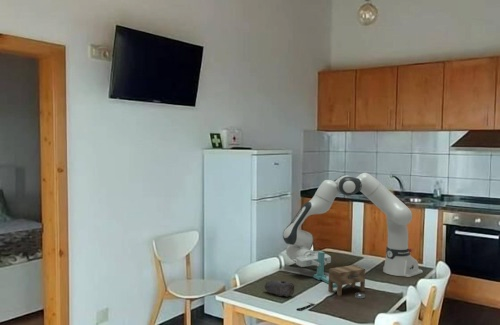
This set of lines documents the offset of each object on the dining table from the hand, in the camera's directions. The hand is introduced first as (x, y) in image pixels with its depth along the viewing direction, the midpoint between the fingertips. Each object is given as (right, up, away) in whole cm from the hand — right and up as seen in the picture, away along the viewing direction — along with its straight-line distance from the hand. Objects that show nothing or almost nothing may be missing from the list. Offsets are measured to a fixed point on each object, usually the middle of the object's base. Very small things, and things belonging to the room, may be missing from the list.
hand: (322, 263), depth 240 cm
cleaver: (-9, -11, -31) cm, 34 cm away
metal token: (+14, -10, -24) cm, 30 cm away
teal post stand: (+2, -8, -3) cm, 9 cm away
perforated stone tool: (-25, -10, -23) cm, 35 cm away
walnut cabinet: (+9, -10, -16) cm, 21 cm away
